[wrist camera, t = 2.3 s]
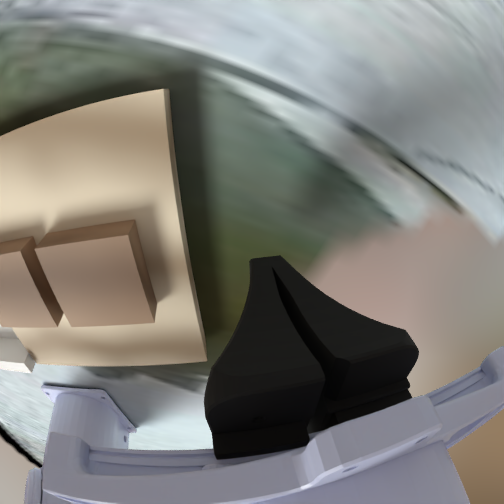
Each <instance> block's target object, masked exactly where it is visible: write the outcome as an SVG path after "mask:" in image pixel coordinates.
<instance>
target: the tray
mask: <svg viewBox="0 0 504 504" xmlns="http://www.w3.org/2000/svg"><path fill="white" fill-rule="evenodd" d="M35 363H36V362H35V361H34V359H33V358H32V357H31V355H30V354H29V352H28V351H27V350H26V348H25V347H24V345H23V344H22V343H21V341H20V340H19V338H18V337H17V335H16V334H15V332H14V331H13V329H12V327H2V326H1V324H0V369H3V370H10V371H17V372H25V373H32V371H33V368H34V365H35Z"/></svg>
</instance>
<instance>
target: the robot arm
mask: <svg viewBox="0 0 504 504" xmlns="http://www.w3.org/2000/svg"><path fill="white" fill-rule="evenodd" d="M249 263H250V286H249V292H248V296H247V300H246V303H245V307H244V310H243V313H242V315H241V318H240V320H239V323H238V325H237V327H236V329H235V332H234V334H233V336H232V337H231V339H230V341H229V343H228V344H227V346H226V348H225V350H224V351H223V353H222V354H221V356H220V357H219V358H218V360H217V361H216V362H215V364H214V365H213V367H212V368H211V372H210V375H209V378H208V382H207V386H206V390H205V397H204V407H205V417H206V420H207V422H208V425H209V427H210V430H211V432H212V439H213V448H214V449H200V450H132V449H128V443H129V433H136V432H137V429H136V428H135V427H134V426H133V425H132V424H131V422H130V421H129V420H128V419H127V418H126V417H125V415H124V414H123V413H122V412H121V411H120V409H119V408H118V407H117V406H116V404H115V403H114V402H113V401H112V399H111V398H110V397H109V395H108V394H107V393H106V392H105V391H104V390H100V389H80V388H66V387H55V386H45V385H42V386H41V390H42V391H43V392H44V393H45V394H46V396H47V397H48V398H49V399H50V400H51V401H52V402H53V403H54V408H53V412H52V417H51V421H50V426H49V431H48V436H47V442H46V447H45V454H44V460H43V467H41V468H40V469H38V468H34V469H32V470H29V472H28V476H27V481H26V488H25V500H24V504H470V502H469V499H468V496H467V494H466V492H465V489H464V487H463V484H462V482H461V480H460V478H459V475H458V473H457V471H456V468H455V466H454V464H453V462H452V460H451V457H450V455H449V453H448V451H447V449H448V448H450V447H452V446H453V445H455V444H456V443H458V442H459V441H461V440H462V439H464V438H465V437H466V436H468V435H469V434H471V433H472V432H474V431H475V430H476V429H478V428H479V427H480V426H482V425H483V424H484V423H486V422H487V421H488V420H490V419H491V418H492V417H494V416H495V415H496V414H497V413H499V412H500V411H501V410H502V409H503V408H504V346H501V347H500V348H498V349H497V350H495V351H493V352H492V353H490V354H489V355H488V356H487V357H486V358H485V360H484V361H483V362H482V364H481V366H480V367H478V368H477V369H475V370H473V371H471V372H469V373H468V374H466V375H464V376H462V377H460V378H458V379H456V380H455V381H453V382H451V383H449V384H447V385H445V386H443V387H441V388H439V389H437V390H434V391H432V392H430V393H428V394H426V395H424V396H423V395H421V396H418V397H414V398H412V396H411V394H410V393H409V391H408V388H409V387H410V383H409V381H408V379H407V376H408V375H409V373H410V371H411V370H412V368H413V367H414V365H415V363H416V361H417V359H418V355H419V351H418V348H417V346H416V345H415V343H414V342H413V340H412V339H411V337H410V336H409V334H408V333H407V332H406V330H404V329H400V328H397V327H393V326H390V325H387V324H383V323H381V322H378V321H376V320H373V319H370V318H368V317H366V316H363V315H361V314H359V313H357V312H355V311H353V310H351V309H349V308H347V307H345V306H344V305H342V304H340V303H338V302H337V301H335V300H334V299H332V298H330V297H329V296H327V295H326V294H324V293H323V292H322V291H320V290H319V289H318V288H316V287H315V286H314V285H312V284H311V283H310V282H309V281H308V280H306V279H305V278H304V277H303V276H302V275H301V274H300V273H298V272H297V271H296V270H295V269H294V268H293V267H292V266H291V265H290V264H289V263H288V262H287V261H286V260H285V259H284V258H282V257H281V256H272V257H263V258H254V259H251V260H250V261H249Z"/></svg>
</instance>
